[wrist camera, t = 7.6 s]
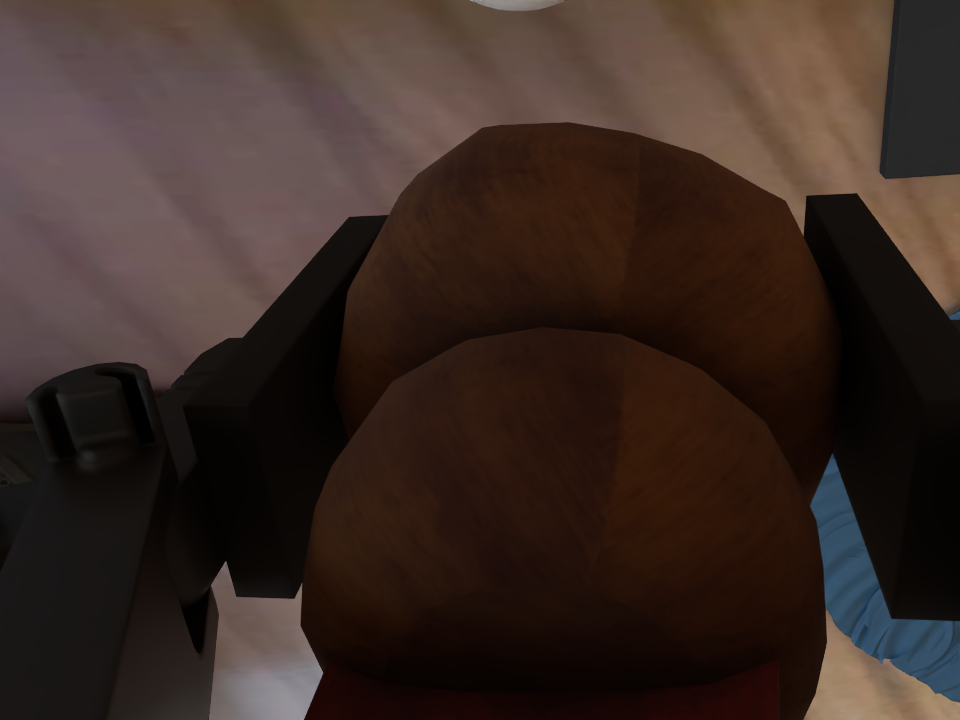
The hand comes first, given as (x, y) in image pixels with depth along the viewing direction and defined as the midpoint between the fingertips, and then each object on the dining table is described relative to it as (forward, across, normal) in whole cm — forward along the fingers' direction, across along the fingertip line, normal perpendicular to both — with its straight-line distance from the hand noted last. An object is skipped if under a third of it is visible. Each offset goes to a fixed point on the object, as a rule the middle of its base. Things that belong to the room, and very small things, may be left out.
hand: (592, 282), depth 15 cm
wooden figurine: (+2, 0, 0) cm, 2 cm away
